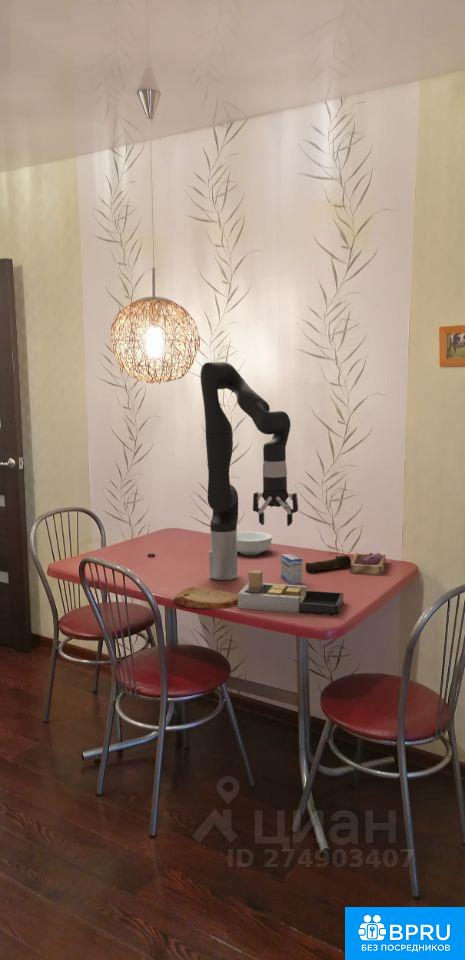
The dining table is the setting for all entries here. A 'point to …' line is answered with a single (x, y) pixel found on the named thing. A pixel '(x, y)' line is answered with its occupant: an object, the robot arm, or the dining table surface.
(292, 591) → the tan square block
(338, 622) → the dining table surface
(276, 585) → the khaki small block
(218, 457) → the robot arm
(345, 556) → the hand tool
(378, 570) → the light wood shallow tray
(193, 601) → the slice of bread
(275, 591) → the tan wood block
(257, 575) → the beige and grey block
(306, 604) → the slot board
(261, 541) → the cereal bowl
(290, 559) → the medicine box
